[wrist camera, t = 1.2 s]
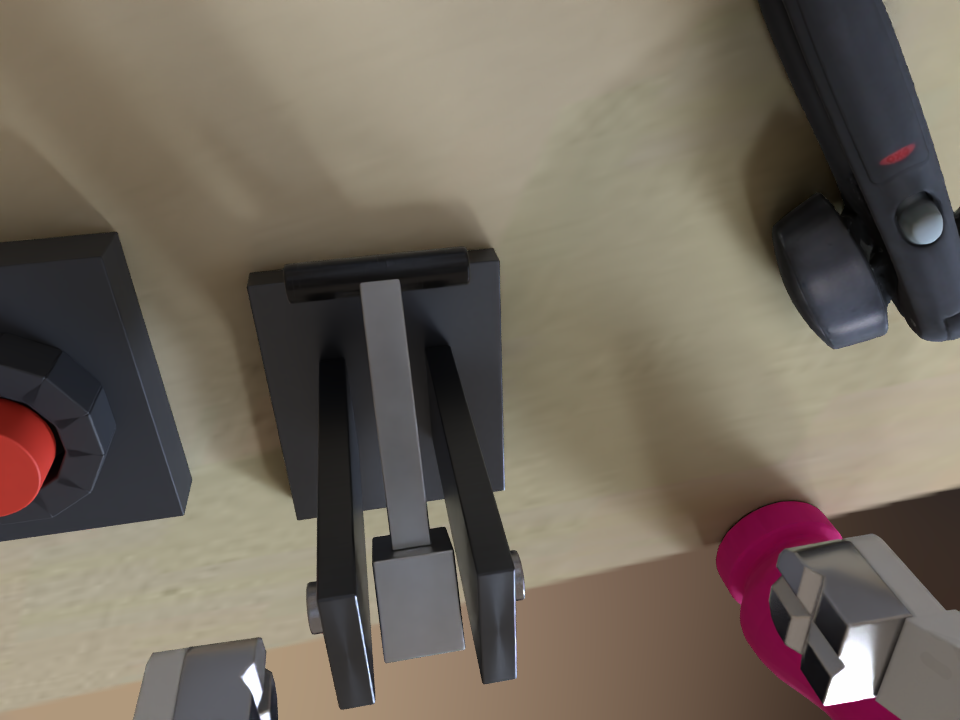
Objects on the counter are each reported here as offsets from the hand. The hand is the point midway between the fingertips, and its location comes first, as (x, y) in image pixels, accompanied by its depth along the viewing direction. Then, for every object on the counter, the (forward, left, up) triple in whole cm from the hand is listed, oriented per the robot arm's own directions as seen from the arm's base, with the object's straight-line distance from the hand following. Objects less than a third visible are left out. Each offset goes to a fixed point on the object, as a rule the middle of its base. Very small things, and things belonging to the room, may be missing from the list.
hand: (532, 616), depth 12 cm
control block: (+5, -15, -18) cm, 24 cm away
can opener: (-2, +15, -18) cm, 24 cm away
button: (+5, -15, -15) cm, 21 cm away
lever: (+4, -2, -10) cm, 11 cm away
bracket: (+7, -2, -18) cm, 20 cm away
